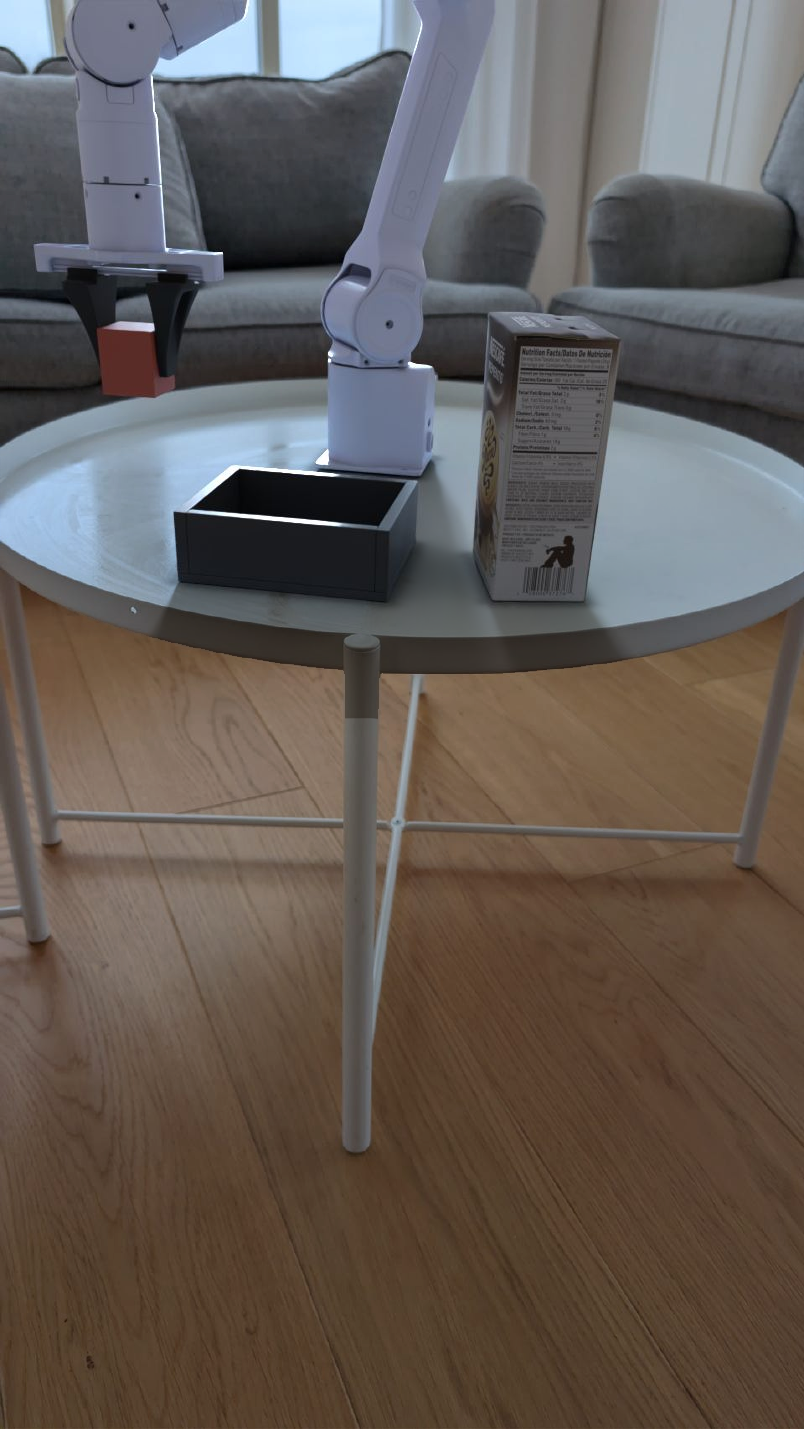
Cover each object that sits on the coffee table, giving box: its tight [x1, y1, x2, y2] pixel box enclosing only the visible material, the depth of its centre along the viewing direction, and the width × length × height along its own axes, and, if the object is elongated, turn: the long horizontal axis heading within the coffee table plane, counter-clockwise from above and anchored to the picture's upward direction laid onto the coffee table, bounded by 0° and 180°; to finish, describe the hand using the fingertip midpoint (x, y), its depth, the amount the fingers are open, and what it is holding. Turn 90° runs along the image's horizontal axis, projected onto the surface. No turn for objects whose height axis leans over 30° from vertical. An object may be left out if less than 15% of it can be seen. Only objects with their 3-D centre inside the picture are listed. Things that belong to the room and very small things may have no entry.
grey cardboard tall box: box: [472, 311, 622, 602], centre depth 65 cm, size 9×6×16 cm
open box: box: [172, 464, 419, 603], centre depth 69 cm, size 14×12×5 cm
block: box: [97, 320, 176, 399], centre depth 82 cm, size 4×4×5 cm
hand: (138, 373), depth 83 cm, fingers closed on block, 4 cm apart
